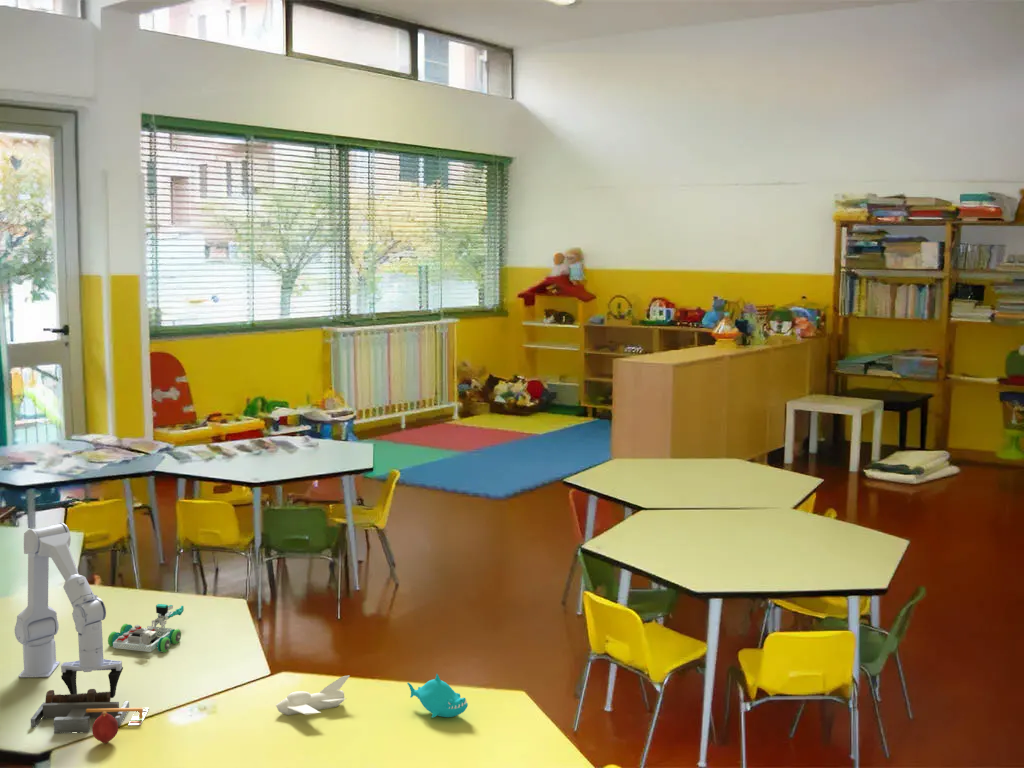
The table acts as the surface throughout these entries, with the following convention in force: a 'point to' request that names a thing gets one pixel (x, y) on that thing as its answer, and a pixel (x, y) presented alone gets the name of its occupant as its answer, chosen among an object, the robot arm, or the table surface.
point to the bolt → (78, 697)
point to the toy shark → (439, 698)
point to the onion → (105, 728)
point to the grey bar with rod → (84, 709)
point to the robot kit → (148, 633)
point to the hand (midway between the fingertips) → (93, 696)
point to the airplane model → (313, 699)
